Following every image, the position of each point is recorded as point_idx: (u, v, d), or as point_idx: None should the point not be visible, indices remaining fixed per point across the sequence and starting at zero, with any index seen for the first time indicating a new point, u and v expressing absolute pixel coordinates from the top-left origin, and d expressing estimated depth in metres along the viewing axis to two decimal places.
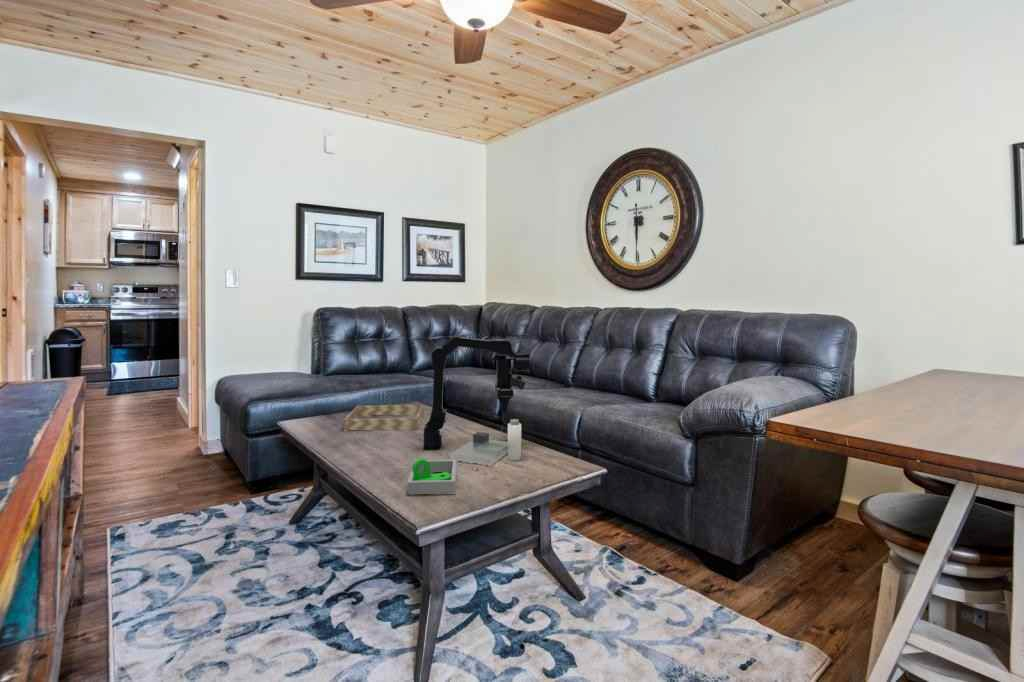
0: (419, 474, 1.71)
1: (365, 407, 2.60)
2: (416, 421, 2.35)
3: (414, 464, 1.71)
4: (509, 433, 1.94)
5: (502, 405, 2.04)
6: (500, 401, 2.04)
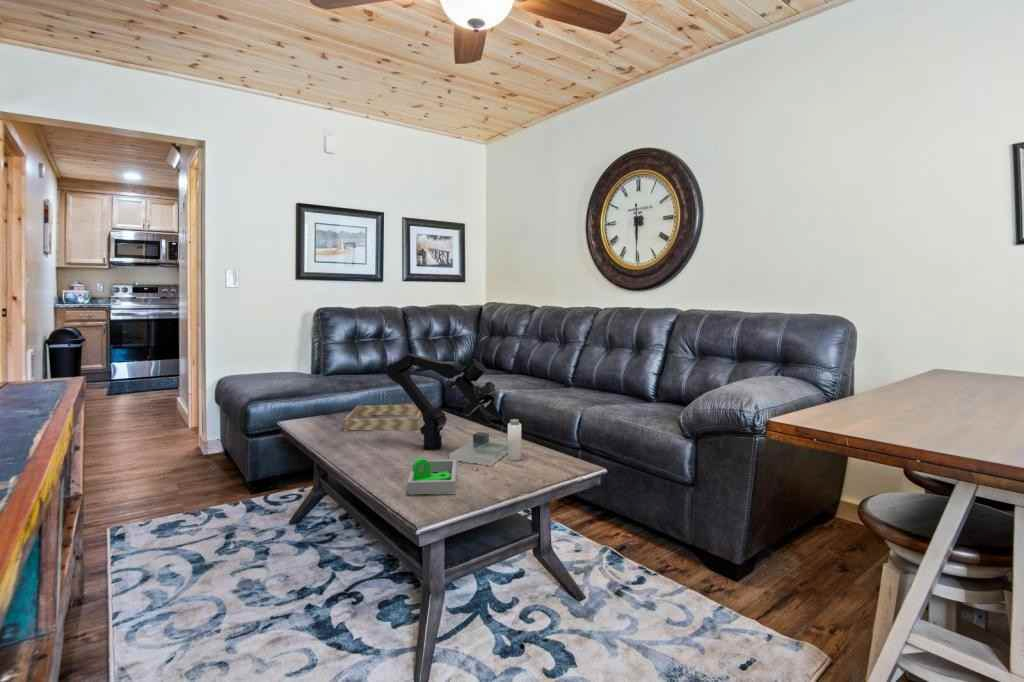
0: (419, 474, 1.71)
1: (365, 407, 2.60)
2: (416, 421, 2.35)
3: (414, 464, 1.71)
4: (509, 433, 1.94)
5: (481, 419, 1.94)
6: (476, 417, 1.94)
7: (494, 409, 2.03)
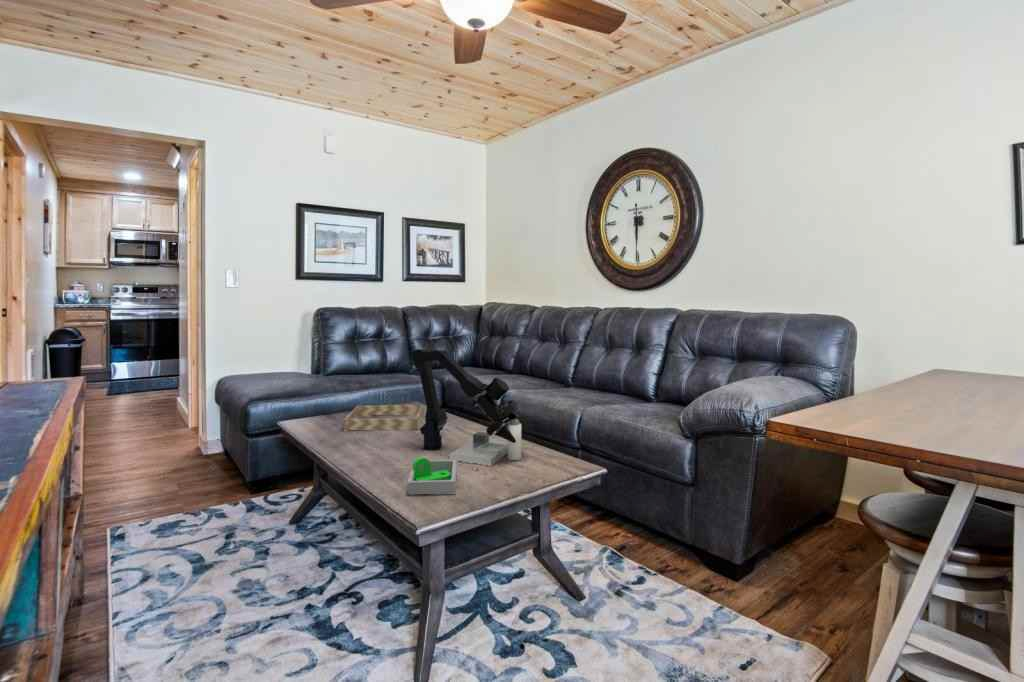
0: (419, 472, 1.72)
1: (365, 407, 2.60)
2: (416, 421, 2.35)
3: (414, 462, 1.72)
4: None
5: (506, 438, 1.93)
6: (501, 436, 1.93)
7: None
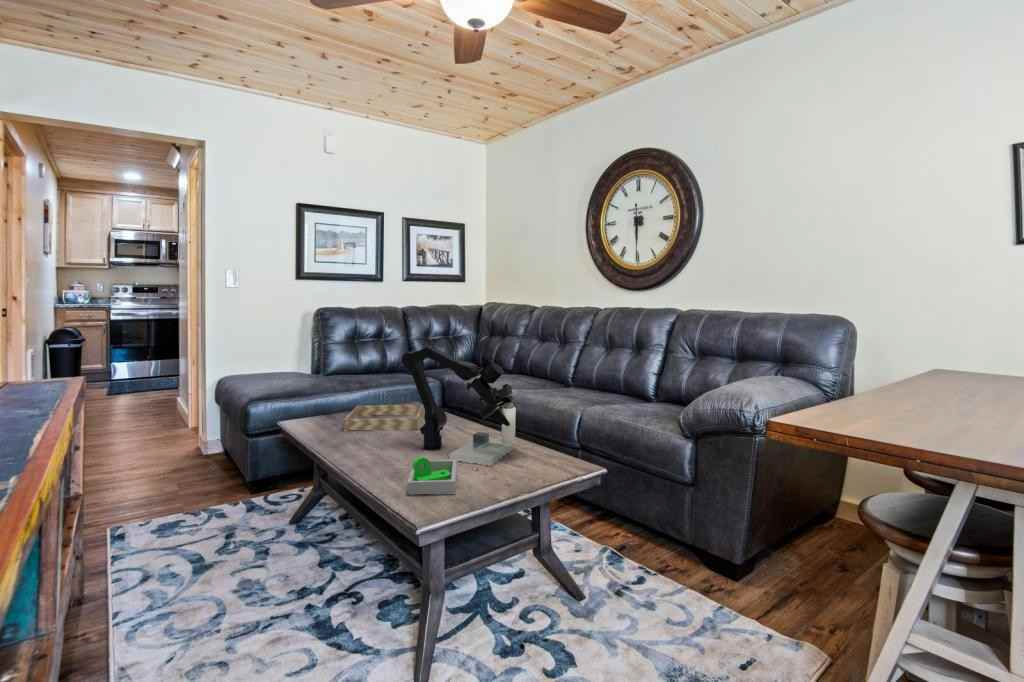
0: (419, 472, 1.73)
1: (365, 407, 2.60)
2: (416, 421, 2.35)
3: (414, 462, 1.73)
4: None
5: (500, 421, 1.93)
6: (495, 419, 1.93)
7: None
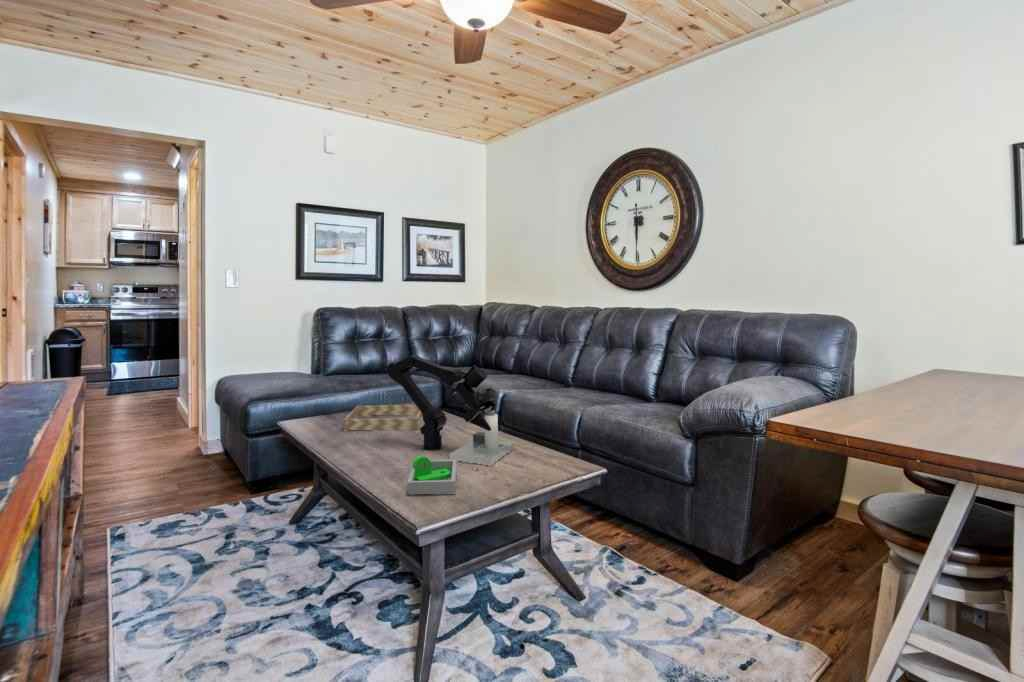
0: (420, 471, 1.74)
1: (365, 407, 2.60)
2: (416, 421, 2.35)
3: (415, 461, 1.73)
4: None
5: (482, 426, 1.94)
6: (477, 424, 1.94)
7: None
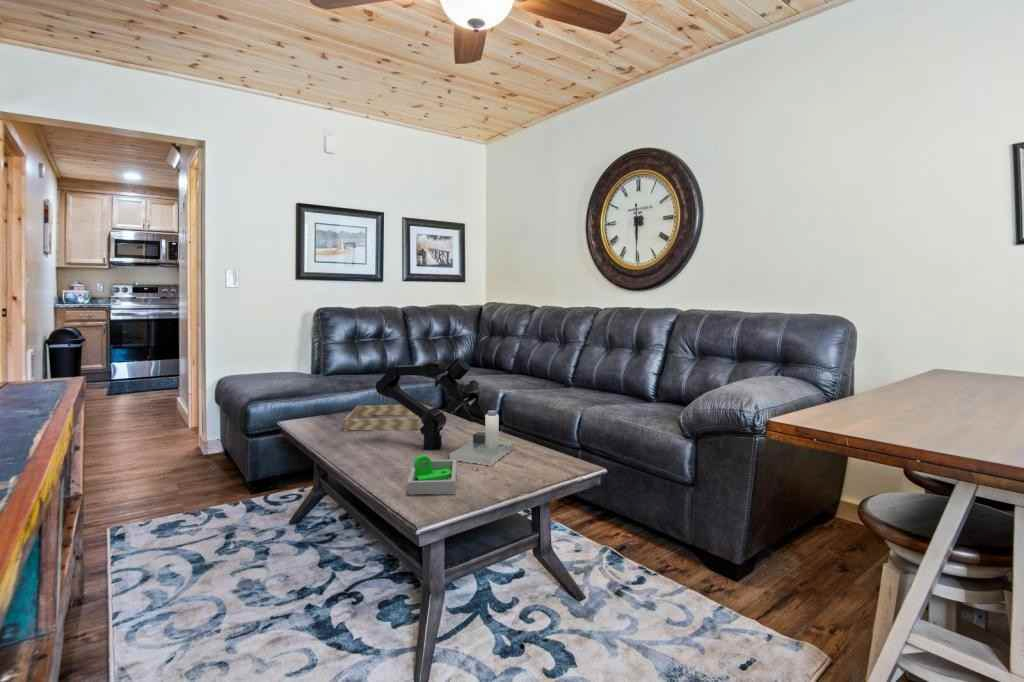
0: (420, 470, 1.74)
1: (365, 407, 2.60)
2: (416, 421, 2.35)
3: (415, 460, 1.74)
4: (486, 424, 1.97)
5: (465, 417, 1.96)
6: (460, 415, 1.96)
7: (478, 407, 2.05)
